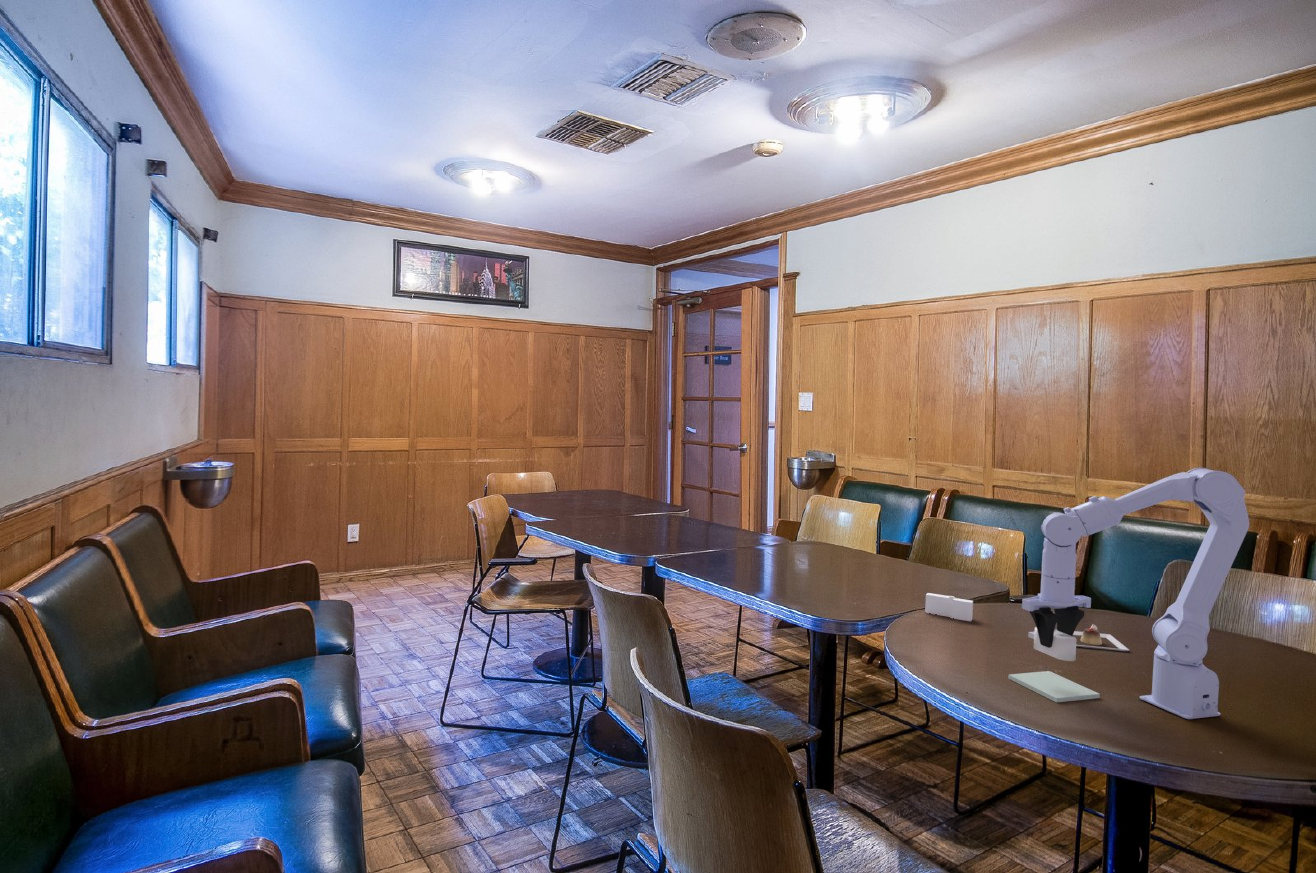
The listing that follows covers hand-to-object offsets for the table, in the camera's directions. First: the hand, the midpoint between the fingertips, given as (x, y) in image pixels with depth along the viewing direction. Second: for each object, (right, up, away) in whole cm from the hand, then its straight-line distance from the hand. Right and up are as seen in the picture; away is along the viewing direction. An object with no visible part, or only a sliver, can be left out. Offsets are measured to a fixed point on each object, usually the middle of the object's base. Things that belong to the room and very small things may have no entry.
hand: (1054, 645), depth 140 cm
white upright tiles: (-1, -7, +48) cm, 49 cm away
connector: (0, -2, 0) cm, 2 cm away
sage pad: (0, -8, 0) cm, 8 cm away
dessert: (+25, -9, +30) cm, 41 cm away
